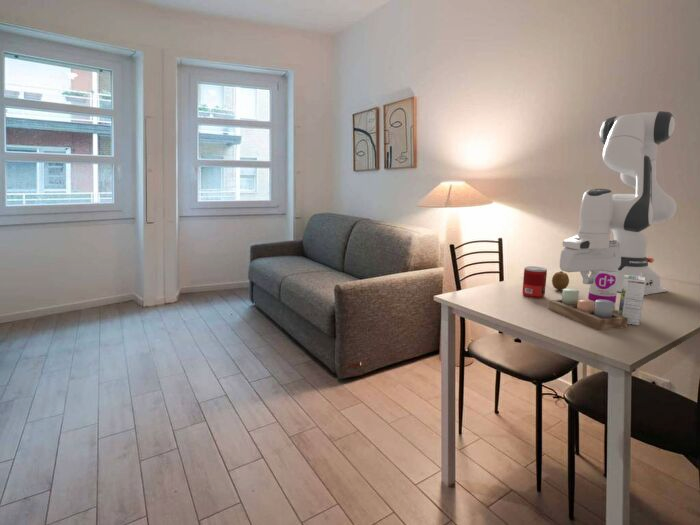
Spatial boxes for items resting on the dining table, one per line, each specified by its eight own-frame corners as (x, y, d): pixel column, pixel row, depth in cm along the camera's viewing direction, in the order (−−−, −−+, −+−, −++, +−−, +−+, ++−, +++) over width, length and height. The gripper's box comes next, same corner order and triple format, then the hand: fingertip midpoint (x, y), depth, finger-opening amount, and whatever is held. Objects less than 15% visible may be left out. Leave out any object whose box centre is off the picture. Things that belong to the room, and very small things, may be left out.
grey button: (602, 314, 128) (604, 298, 127) (615, 319, 123) (617, 303, 122) (590, 315, 127) (591, 299, 126) (602, 320, 122) (604, 304, 121)
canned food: (546, 298, 154) (549, 270, 152) (524, 297, 155) (526, 269, 153) (541, 293, 161) (544, 266, 159) (520, 292, 163) (522, 265, 161)
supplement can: (614, 313, 136) (620, 269, 133) (586, 309, 140) (591, 267, 138) (614, 307, 143) (619, 265, 140) (587, 303, 147) (591, 263, 144)
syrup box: (617, 317, 132) (623, 274, 129) (639, 321, 128) (646, 276, 126) (617, 322, 127) (622, 277, 124) (640, 326, 124) (646, 280, 121)
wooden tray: (572, 306, 144) (573, 298, 143) (626, 327, 123) (627, 317, 122) (548, 308, 142) (548, 300, 141) (598, 329, 121) (599, 320, 120)
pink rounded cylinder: (585, 313, 135) (586, 298, 134) (596, 317, 130) (598, 302, 129) (572, 314, 134) (574, 299, 133) (584, 318, 129) (585, 303, 128)
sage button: (570, 302, 141) (571, 288, 140) (580, 305, 137) (582, 291, 136) (558, 302, 140) (559, 288, 139) (568, 306, 136) (569, 292, 135)
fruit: (559, 287, 170) (561, 269, 169) (571, 291, 165) (573, 272, 163) (547, 289, 168) (549, 270, 167) (559, 292, 163) (561, 273, 161)
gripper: (612, 238, 133) (607, 279, 136) (558, 241, 129) (554, 283, 131) (629, 241, 127) (623, 283, 130) (572, 244, 123) (568, 288, 125)
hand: (588, 283), depth 130 cm, fingers closed
